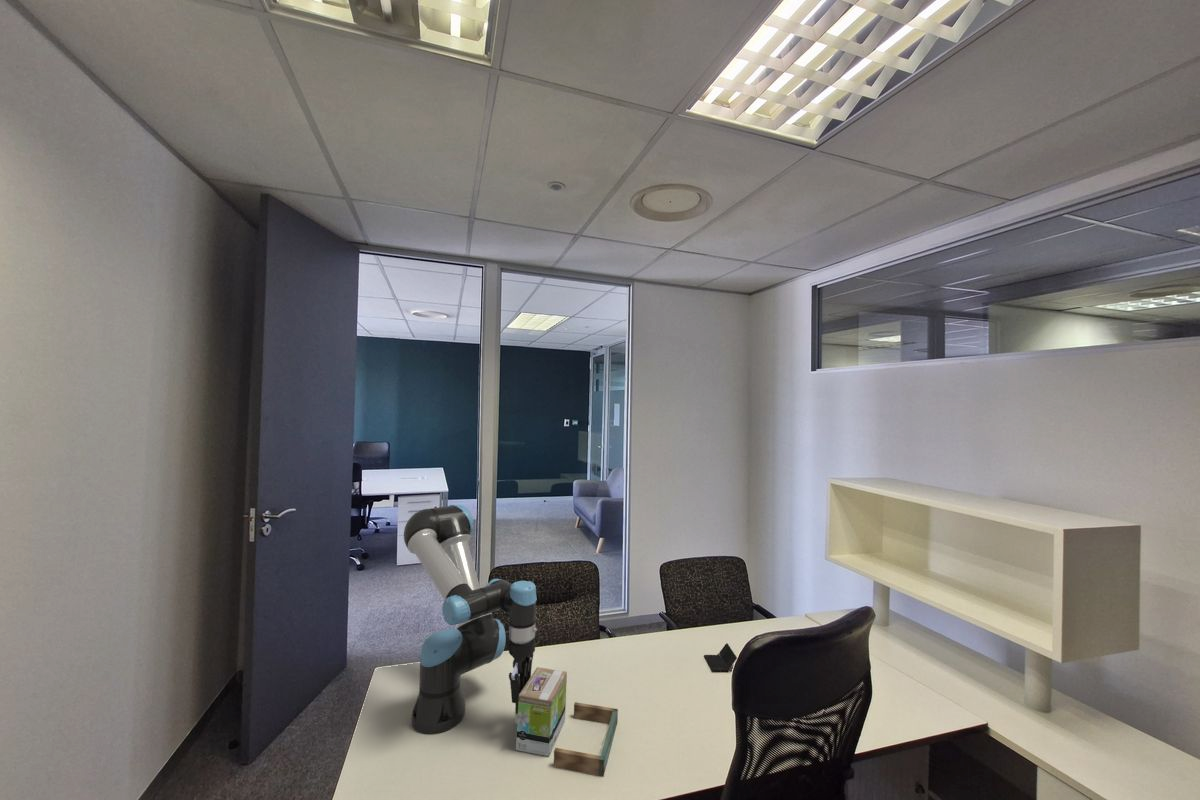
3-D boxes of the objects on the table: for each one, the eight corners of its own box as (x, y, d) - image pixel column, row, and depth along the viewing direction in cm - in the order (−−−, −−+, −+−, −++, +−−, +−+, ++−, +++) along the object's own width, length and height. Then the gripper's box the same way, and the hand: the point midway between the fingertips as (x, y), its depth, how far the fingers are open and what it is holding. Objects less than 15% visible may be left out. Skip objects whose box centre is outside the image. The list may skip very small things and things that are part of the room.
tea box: (550, 757, 118) (551, 700, 118) (514, 751, 120) (516, 694, 120) (566, 720, 132) (567, 669, 133) (534, 715, 134) (535, 665, 135)
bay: (553, 767, 114) (554, 750, 115) (574, 715, 135) (575, 702, 135) (603, 776, 112) (603, 760, 112) (617, 722, 132) (617, 709, 132)
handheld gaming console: (698, 653, 170) (715, 632, 170) (711, 662, 171) (728, 642, 172) (712, 674, 159) (729, 652, 159) (725, 684, 160) (743, 662, 161)
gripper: (525, 650, 121) (523, 740, 120) (542, 629, 134) (540, 710, 133) (500, 647, 123) (498, 735, 122) (519, 626, 136) (517, 706, 134)
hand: (520, 722), depth 127 cm, fingers closed
